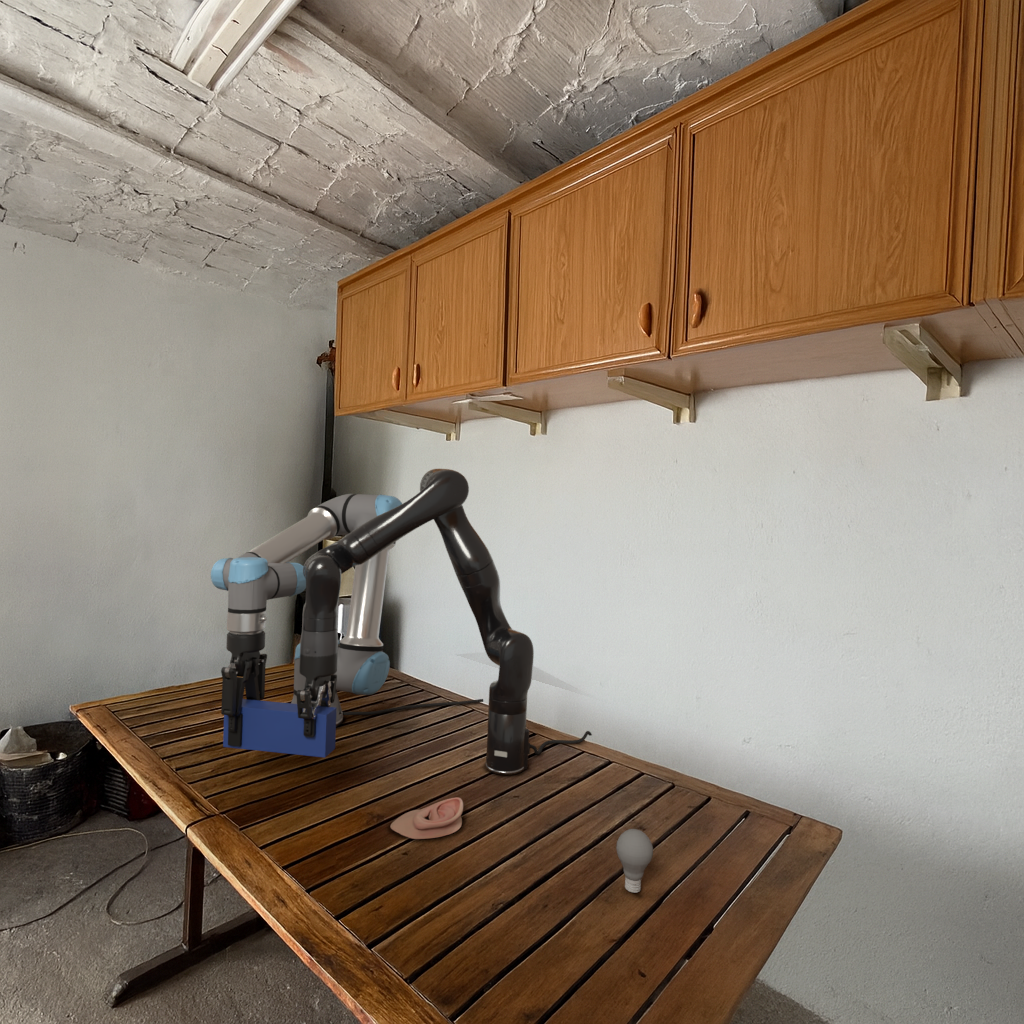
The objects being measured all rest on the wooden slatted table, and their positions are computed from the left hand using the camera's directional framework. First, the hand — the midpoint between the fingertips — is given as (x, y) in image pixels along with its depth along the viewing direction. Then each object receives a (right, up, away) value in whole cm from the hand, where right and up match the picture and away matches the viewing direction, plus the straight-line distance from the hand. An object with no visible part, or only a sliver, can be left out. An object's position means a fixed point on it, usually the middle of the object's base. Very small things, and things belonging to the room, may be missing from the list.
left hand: (242, 740), depth 134 cm
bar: (+8, -1, -1) cm, 8 cm away
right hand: (+16, +3, -3) cm, 17 cm away
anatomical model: (+41, -13, -10) cm, 44 cm away
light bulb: (+77, -15, -29) cm, 84 cm away
